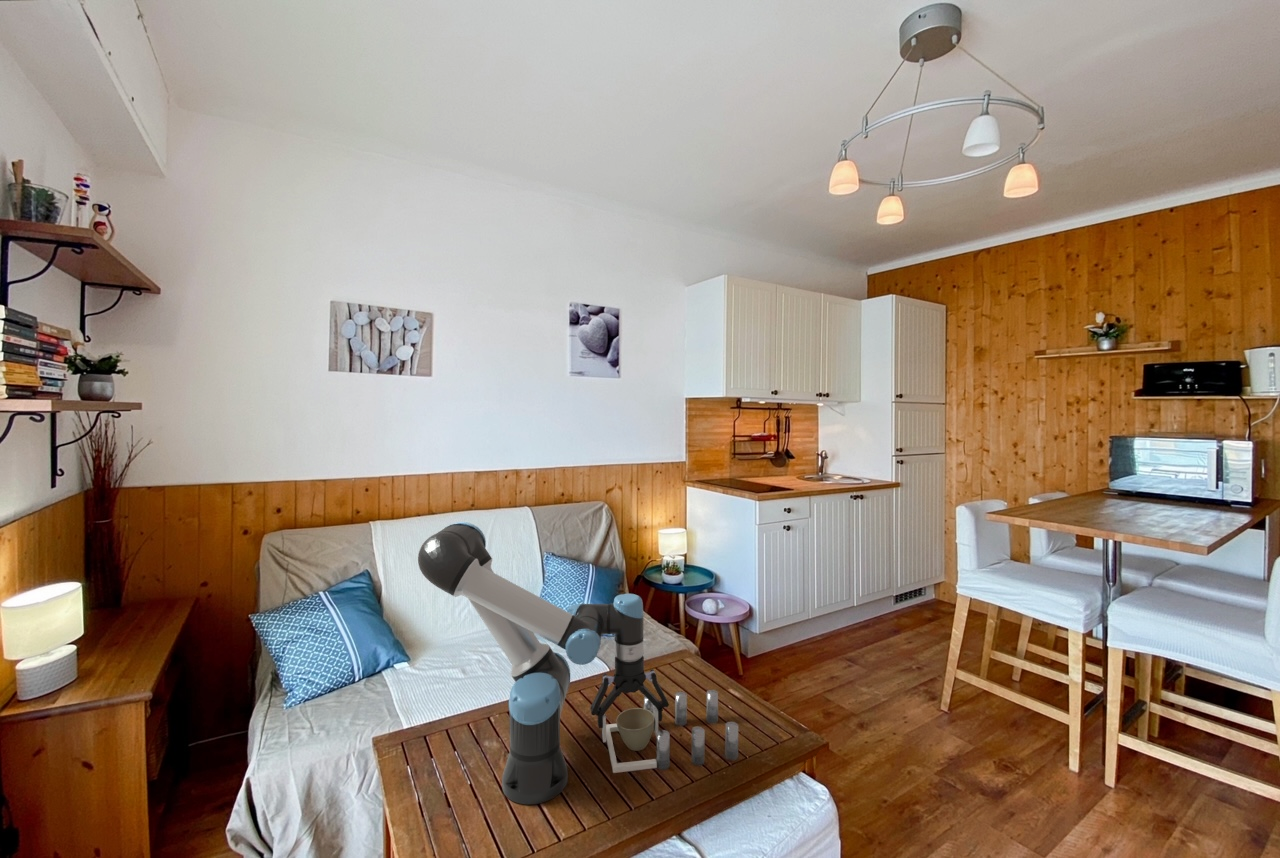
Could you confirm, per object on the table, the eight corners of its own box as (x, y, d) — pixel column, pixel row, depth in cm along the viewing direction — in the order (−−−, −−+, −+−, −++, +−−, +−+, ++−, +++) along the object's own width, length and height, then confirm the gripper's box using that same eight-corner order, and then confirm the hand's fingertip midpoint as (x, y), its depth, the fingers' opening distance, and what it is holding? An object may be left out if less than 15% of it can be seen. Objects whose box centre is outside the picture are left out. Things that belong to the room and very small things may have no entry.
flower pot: (664, 744, 141) (662, 717, 141) (635, 762, 135) (633, 734, 134) (638, 728, 149) (637, 703, 148) (610, 745, 142) (608, 719, 142)
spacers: (657, 770, 132) (658, 738, 132) (642, 722, 152) (642, 695, 151) (740, 760, 136) (740, 729, 135) (715, 715, 156) (715, 688, 155)
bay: (613, 772, 131) (613, 768, 131) (604, 729, 149) (604, 724, 149) (656, 767, 133) (656, 763, 133) (643, 725, 151) (643, 720, 151)
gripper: (581, 667, 134) (583, 750, 135) (679, 657, 138) (680, 738, 139) (579, 653, 141) (581, 733, 142) (672, 645, 146) (673, 722, 147)
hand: (630, 736), depth 141 cm, fingers open, 13 cm apart
